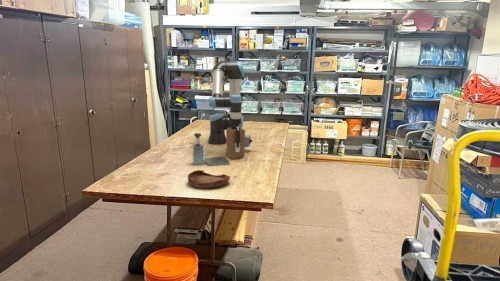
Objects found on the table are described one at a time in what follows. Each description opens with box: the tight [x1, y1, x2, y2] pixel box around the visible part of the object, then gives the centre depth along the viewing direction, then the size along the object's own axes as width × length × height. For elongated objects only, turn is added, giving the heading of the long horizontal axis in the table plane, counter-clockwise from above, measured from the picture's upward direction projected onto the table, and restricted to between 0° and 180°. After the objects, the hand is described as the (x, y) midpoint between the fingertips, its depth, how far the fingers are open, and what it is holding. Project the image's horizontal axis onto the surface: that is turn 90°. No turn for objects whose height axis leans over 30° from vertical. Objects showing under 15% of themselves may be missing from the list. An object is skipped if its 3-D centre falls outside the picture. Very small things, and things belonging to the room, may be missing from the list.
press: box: [192, 143, 230, 167], centre depth 218 cm, size 14×22×12 cm, turn 106°
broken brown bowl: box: [187, 169, 231, 189], centre depth 181 cm, size 22×20×5 cm
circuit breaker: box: [245, 134, 253, 148], centre depth 249 cm, size 8×14×15 cm, turn 78°
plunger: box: [194, 132, 202, 146], centre depth 214 cm, size 4×4×10 cm
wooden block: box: [225, 127, 246, 160], centre depth 231 cm, size 10×10×20 cm
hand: (235, 149), depth 232 cm, fingers closed on wooden block, 11 cm apart
